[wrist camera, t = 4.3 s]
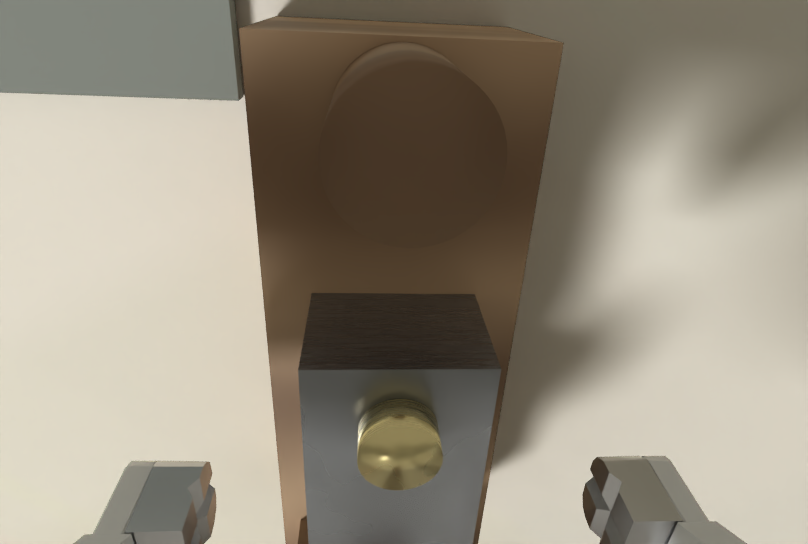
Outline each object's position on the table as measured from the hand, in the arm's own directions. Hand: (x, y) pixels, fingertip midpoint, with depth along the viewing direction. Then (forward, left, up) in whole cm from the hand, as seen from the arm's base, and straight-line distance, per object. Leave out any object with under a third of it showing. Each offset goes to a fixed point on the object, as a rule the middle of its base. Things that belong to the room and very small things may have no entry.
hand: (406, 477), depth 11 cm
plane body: (-1, 0, -7) cm, 7 cm away
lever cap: (-1, 0, -3) cm, 3 cm away
